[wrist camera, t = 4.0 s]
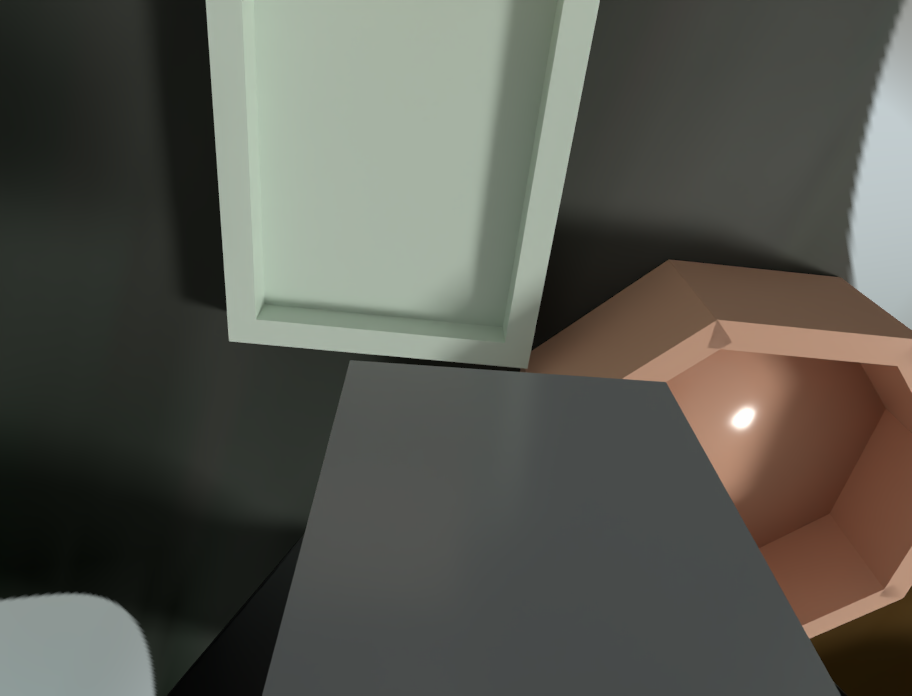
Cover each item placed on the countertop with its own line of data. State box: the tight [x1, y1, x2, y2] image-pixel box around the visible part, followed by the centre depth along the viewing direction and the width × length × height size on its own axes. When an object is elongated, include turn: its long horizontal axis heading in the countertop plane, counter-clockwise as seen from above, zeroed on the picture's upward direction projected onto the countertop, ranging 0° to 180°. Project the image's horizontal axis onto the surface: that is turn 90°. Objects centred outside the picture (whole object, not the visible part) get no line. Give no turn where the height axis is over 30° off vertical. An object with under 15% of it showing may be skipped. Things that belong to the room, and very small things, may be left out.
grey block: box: [262, 360, 841, 696], centre depth 8 cm, size 4×4×6 cm
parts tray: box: [206, 0, 600, 369], centre depth 16 cm, size 17×9×2 cm, turn 174°
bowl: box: [520, 259, 912, 639], centre depth 21 cm, size 13×13×4 cm
